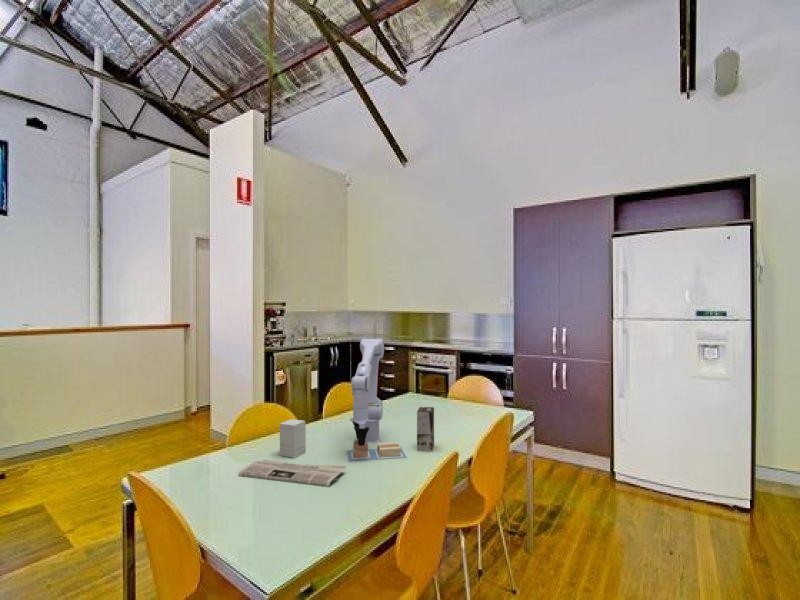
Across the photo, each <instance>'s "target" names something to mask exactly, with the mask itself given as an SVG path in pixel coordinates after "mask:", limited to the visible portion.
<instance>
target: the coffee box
mask: <svg viewBox="0 0 800 600" xmlns="http://www.w3.org/2000/svg"><path fill="white" fill-rule="evenodd" d="M434 447H435V407H434V406H433V407H432V406H424V407H423V406H419V407H418V409H417V411H416V452H427V453H431V452H433V450H434Z"/></svg>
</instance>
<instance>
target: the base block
mask: <svg viewBox="0 0 800 600" xmlns="http://www.w3.org/2000/svg"><path fill="white" fill-rule="evenodd" d="M376 446H377V447H376V449H377V451H378V454H379V456H380V458H382V457H397V456H401V448H402V447H401V446H400V444H399V443H398V441H389V442H386V441H385V442H376ZM400 447H401V448H400Z"/></svg>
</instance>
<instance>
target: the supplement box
mask: <svg viewBox="0 0 800 600" xmlns="http://www.w3.org/2000/svg"><path fill="white" fill-rule="evenodd" d="M306 430H307V429H306V420H300V419H294V418H293V419H292V418H290V419H287V420H285V421H283V422H279V456H281V457H288V458H290V459H292V458H293V459H295V458H297V457H299V456H302V455H304V454H305V453H306V447H307V446H306V445H307V444H306V438H307V437H306V432H307V431H306Z"/></svg>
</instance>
